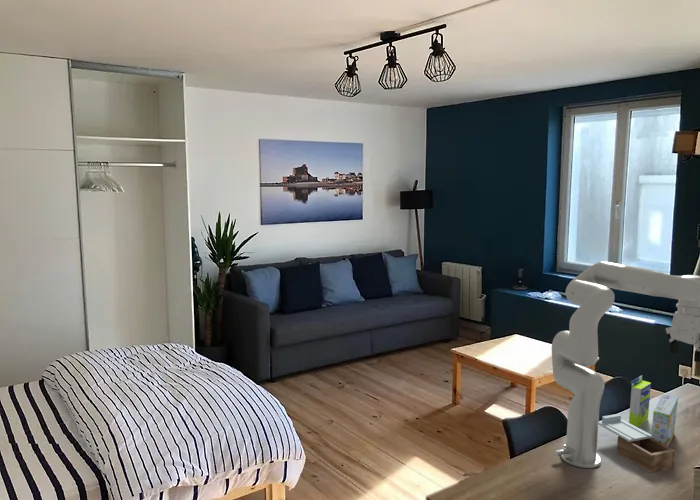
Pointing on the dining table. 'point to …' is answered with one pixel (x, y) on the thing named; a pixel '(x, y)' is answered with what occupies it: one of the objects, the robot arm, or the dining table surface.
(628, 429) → the lid
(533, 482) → the dining table surface
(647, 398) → the box
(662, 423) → the snack box
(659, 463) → the keepsake box
